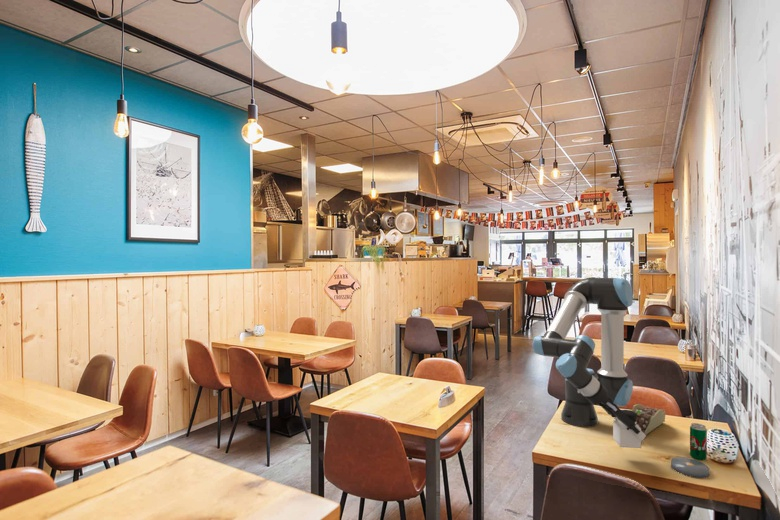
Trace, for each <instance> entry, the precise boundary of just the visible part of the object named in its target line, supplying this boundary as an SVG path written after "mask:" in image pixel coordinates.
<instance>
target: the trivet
mask: <svg viewBox="0 0 780 520" xmlns="http://www.w3.org/2000/svg"><path fill="white" fill-rule="evenodd" d="M670 468H671V469H672V470H673V469H674V470H676V471H677V472H676V471H675V472H676V473H678V472H679V474H680V473H682V474H681V475H683V474H684V475H683V476H686V475H687V476H686V477H689V476H691V478H696V479H705V478H708V477H710V473H711V472H710V467H709V465H708V464H706V463H704V462H702V461H701V460H696V459H694V458H689V457H680V456H675V457H673V458H671V459H670Z"/></svg>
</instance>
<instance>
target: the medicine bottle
mask: <svg viewBox="0 0 780 520" xmlns="http://www.w3.org/2000/svg"><path fill="white" fill-rule="evenodd" d="M619 409H620V408H619ZM620 410H621V411H622V412H623V413H625V414H626V415H627V416H628V417H629V418H630V419H631V420H632V421H633V422H634V423H635V424H636V413H635V412H634V411H632V409H627V408H621V409H620ZM612 426H613V427H612V438H613V439H612V440H613V441H614V442H615V443H616V444H617V445H618V446H619V448H631V449H632V448H633V449H641V448H642V441H640V440H639V439H638V438H637V437H636V436H635V435H634V434H633V433H632V432H631V431H630V430H627V426H626V425H625V424H623V423H622V422H621V421H620V420H619V419H618V421H617V420H615V419H614V420H613V421H612ZM636 426H637V427H638V428H639V429H640V430H641V428H640V427H639V426H638V425H637V424H636Z"/></svg>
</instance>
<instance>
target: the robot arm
mask: <svg viewBox="0 0 780 520" xmlns="http://www.w3.org/2000/svg"><path fill="white" fill-rule="evenodd" d="M633 302H634V295H633V289H632V285H631V283H630V281H629V280H627V279H626V278H618V277H586V278H583V279H580V280H579V281H577V282H575V283H574V284H573V285H571V287H569V288H568V289H567V291H566V292H565V294H564V297H563V302H562V304H561V305H560V307H559V309H558V310H557V313H556V314H555V315H554V317H553V319H552V321H551V322H550V324H549V326H548V328H547V330H546V331H545V332H544V334H543V335H536V336H535V337H534V338H533V340H532V350H533V353H535V354H536V355H539V356H544V357H549V358H550V357H551V358H557V360H556V362H555V368H556V369H557V371H558V372H559V373H560V375H561V376H562V377H564V378H565V379H564V381H565V382H564V383H565V402H564V406H563V408H562V410H561V420H562V421H563V422H565V423H566V424H570V425H573V426H577V427H584V428H585V427H586V428H587V427H594V426H597V425H598V424H599V418H598V415H597V412H596V407H595V406H594V405H598V406H599V407H601V408H602V409H603V410H604V411H605V412H606V413H607V415H610V417H612V418H613V419H614V420H617V421H618V419H619V420H620V421H621V422H622V423H623V424H625V425H626V426H627V430H630V431H631V432H632V433H633V434H634V435H635V436H636V437H637V438H638V439H639V440H640V441H641V442H642V441H643V440H644V439H645V438H646V437H647V434H646V435H645V434H644V433H643V432H642V431H641V430H640V429H639V428H638V427H637V426H636V424H635V423H634V422H633V421H632V420H631V419H630V418H629V417H628V416H627V415H626V414H625V413H623V412H622V411H621V410H620V407H621V408H623V407H626V406H628V404H629V403H630V400H631V397H632V394H633V389H634V385H633V381H632V380H631V379H629V378H628V377H629V376H628V373H627V372H626V371H625V370H624V362H625V361H624V358H625V357H624V353H625V352H624V350H625V349H624V347H625V346H624V342H625V341H624V338H625V337H624V333H625V331H624V326H625V325H624V316H625V313H627V312H628V311H629V307H631V306H633ZM587 305H597V307H596V308H597V310H598V311H599V312H600V314H601V317H600V320H601V323H600V324H601V325H600V328H601V333H600V334H601V335H600V337H601V338H600V339H601V340H600V341H601V345H600V353H601V354H600V357H601V359H600V360H601V361H600V362H601V363H600V364H601V365H600V368H599V369H598V370H597V371H596V372H597V373H595V371H594V369H592V368H588V366H589V363H590V361H591V358H592V357H593V355H594V352H595V349H596V343H595V340H593V338H591V337H590V336H588V335H586V334H585V335H584V334H580V335H577V336H576V337H575V338H574V339H568V338H566V337H567V336H568V334H569V332H570V330H571V328H572V327H573V324H574V322H576V319H577V317H578V316H579V313H580V311H581V310H582V309H585V308H586V306H587Z"/></svg>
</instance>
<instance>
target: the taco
mask: <svg viewBox="0 0 780 520" xmlns="http://www.w3.org/2000/svg"><path fill="white" fill-rule="evenodd" d="M631 410H632V411H634V412H635V413H636V424H637V425H638V426H639V427H640V428H641V431H642V432H643V433H644V434H645V435H646V436H647V434H649V433H650V432H652V431H654V430H656V428H657V427H660V425H662V424H663V423H664V422H665V421H666V411H665V409H664V408H663V409H658V408H656V407H655V408H654V407H649V406H644V405H643V404H641V403H637V404H634V405H633V407H632V409H631Z"/></svg>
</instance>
